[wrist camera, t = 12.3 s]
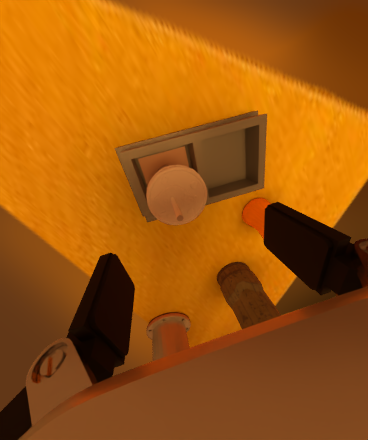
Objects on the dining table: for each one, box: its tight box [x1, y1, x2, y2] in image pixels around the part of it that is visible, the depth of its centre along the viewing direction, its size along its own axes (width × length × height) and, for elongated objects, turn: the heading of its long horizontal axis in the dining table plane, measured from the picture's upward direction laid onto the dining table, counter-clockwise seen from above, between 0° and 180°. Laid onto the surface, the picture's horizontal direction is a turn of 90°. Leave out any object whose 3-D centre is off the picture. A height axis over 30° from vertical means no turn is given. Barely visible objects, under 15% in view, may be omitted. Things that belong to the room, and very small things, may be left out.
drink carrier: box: [115, 111, 267, 222], centre depth 24 cm, size 11×21×4 cm, turn 103°
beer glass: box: [242, 198, 271, 239], centre depth 26 cm, size 7×7×15 cm
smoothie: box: [146, 165, 207, 225], centre depth 18 cm, size 6×6×14 cm
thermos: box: [217, 262, 281, 329], centre depth 25 cm, size 9×12×35 cm
